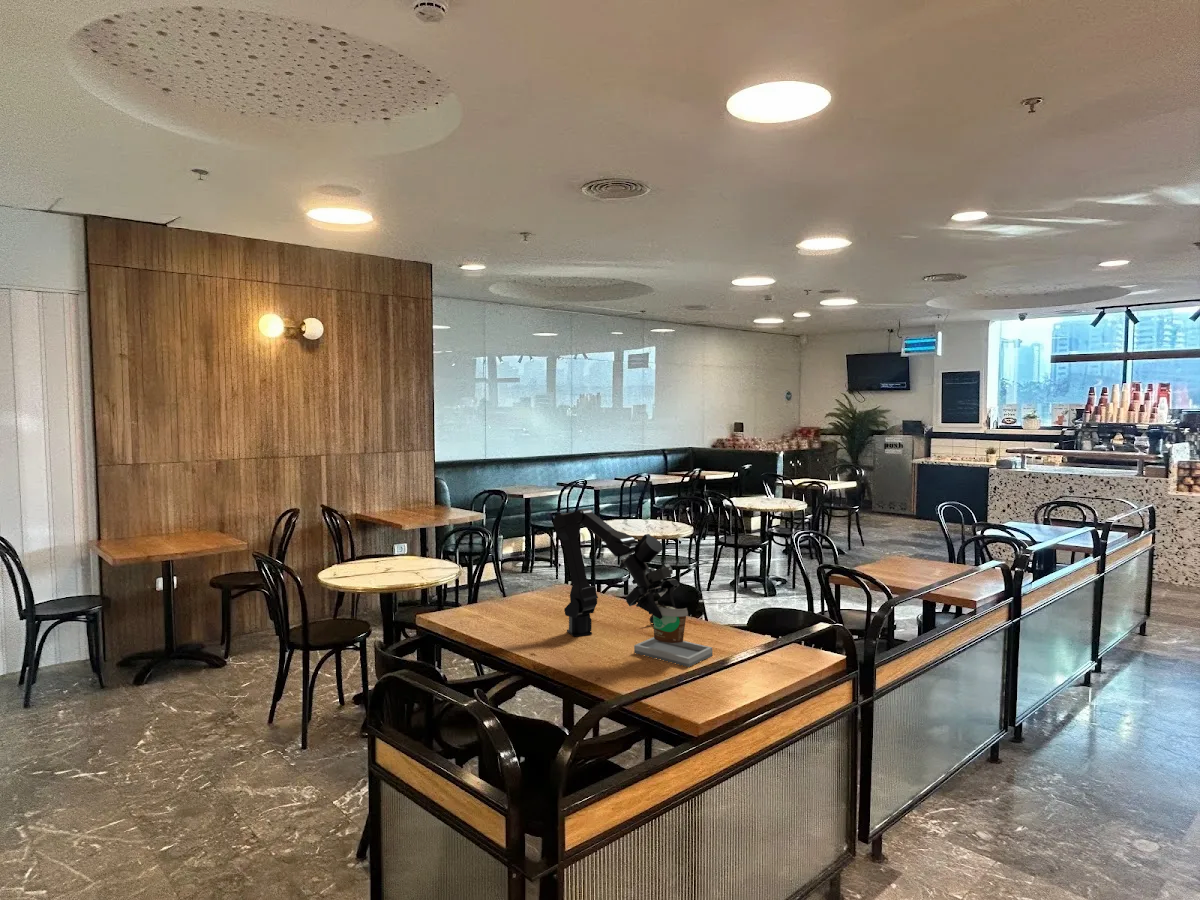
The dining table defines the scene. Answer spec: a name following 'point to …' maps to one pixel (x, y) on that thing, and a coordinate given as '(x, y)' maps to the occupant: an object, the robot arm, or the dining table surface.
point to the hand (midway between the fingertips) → (668, 616)
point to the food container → (670, 624)
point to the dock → (674, 651)
